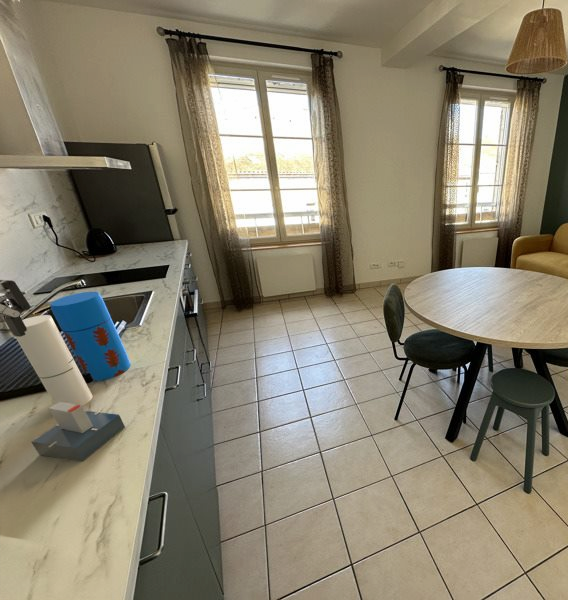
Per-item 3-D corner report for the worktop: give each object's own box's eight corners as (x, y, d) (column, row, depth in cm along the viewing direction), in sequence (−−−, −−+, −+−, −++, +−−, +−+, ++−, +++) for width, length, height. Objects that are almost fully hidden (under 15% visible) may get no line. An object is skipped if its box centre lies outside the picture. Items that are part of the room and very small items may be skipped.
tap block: (36, 457, 73) (27, 443, 71) (88, 420, 83) (81, 407, 81) (80, 463, 71) (71, 449, 69) (127, 425, 81) (121, 412, 79)
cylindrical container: (97, 391, 94) (57, 313, 84) (84, 407, 88) (39, 325, 78) (67, 397, 92) (22, 318, 82) (51, 414, 86) (1, 330, 76)
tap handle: (60, 428, 75) (47, 407, 73) (71, 421, 77) (59, 400, 75) (82, 433, 73) (70, 411, 71) (93, 426, 75) (81, 404, 73)
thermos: (101, 384, 97) (62, 308, 87) (79, 377, 100) (40, 303, 90) (139, 364, 106) (108, 293, 96) (118, 358, 110) (86, 289, 100)
